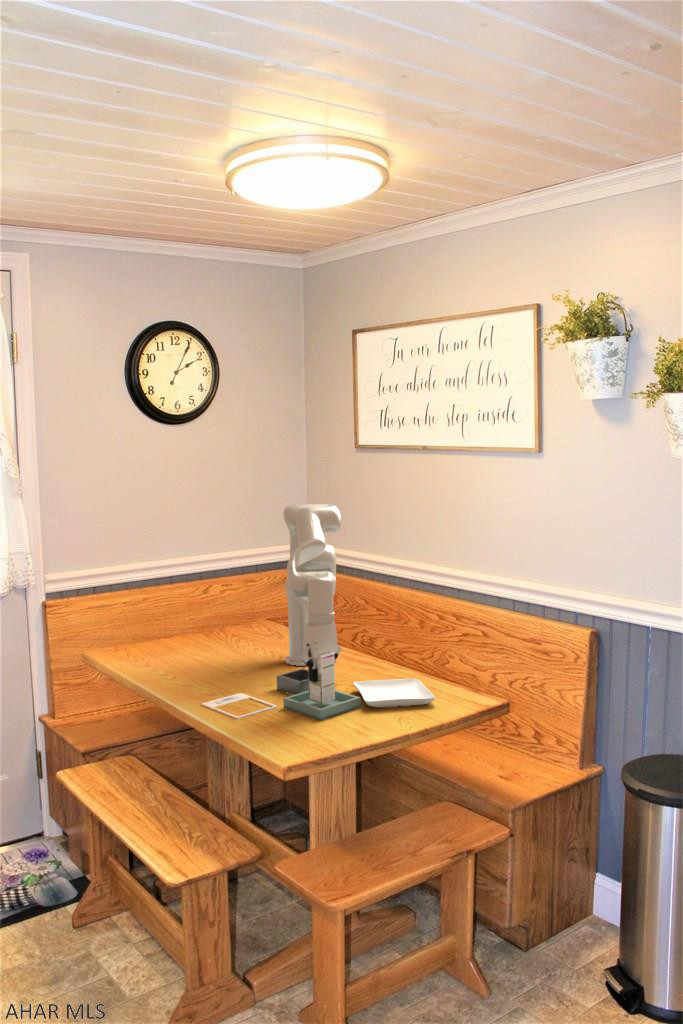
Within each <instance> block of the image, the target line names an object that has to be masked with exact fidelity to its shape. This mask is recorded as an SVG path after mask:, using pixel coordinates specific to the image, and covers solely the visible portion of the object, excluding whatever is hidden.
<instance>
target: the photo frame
mask: <svg viewBox="0 0 683 1024" xmlns="http://www.w3.org/2000/svg"><path fill="white" fill-rule="evenodd" d="M247 698H252V699H254V700H253V701H255V700H257V701H260V702H262V703H261V704H263V703H264V704H263V705H266V704H267V705H266V706H269V705H270V706H269V707H266V708H262V709H259V710H256V711H253V712H249V713H245V714H242V715H238V716H237V715H235V714H232V713H230V712H227V711H224V710H222V709H220V708H215V707H217V706H221V705H225V704H228V703H232V702H236V701H240V700H243V701H245V700H244V699H247ZM252 699H251V700H252ZM247 700H248V699H247ZM257 701H256V702H257ZM240 702H241V701H240ZM260 702H259V703H260ZM236 703H237V702H236ZM201 704H202V705H204V706H203V707H205V706H207V707H210V708H213V709H215V710H217V711H220V712H222V713H225V714H227V715H230V716H232V717H231V718H233V717H234V718H233V719H235V718H236V719H235V720H240V719H239V718H241V719H244V718H247V716H248V717H250V715H251V716H253V714H254V715H257V713H258V714H261V713H263V712H264V711H265V712H268V711H271V710H275V709H278V708H279V706H278V705H275V704H273V703H270V702H267V701H264V700H263V699H259V698H256V697H254V696H250V695H248V694H246V693H243V692H239V693H236V694H233V695H228V696H225V697H221V698H216V699H213V700H209V701H205V702H202V703H201ZM202 705H201V706H202ZM225 706H226V705H225ZM271 706H272V707H271ZM207 707H206V708H207ZM210 708H209V709H210ZM215 710H214V711H215ZM267 710H268V711H267ZM217 711H216V712H217ZM220 712H219V713H220ZM260 712H261V713H260ZM222 713H221V714H222ZM225 714H224V715H225ZM227 715H226V716H227ZM230 716H229V717H230ZM243 717H244V718H243Z"/></svg>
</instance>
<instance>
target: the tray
mask: <svg viewBox="0 0 683 1024" xmlns="http://www.w3.org/2000/svg"><path fill="white" fill-rule="evenodd" d="M361 703H362V701H361V696H356V695H353V694H350V693H346V692H343V691H340V690H336V689H335V700H333V701H330V702H327V703H324V704H321V703H318V702H315V701H311V700H309V691H306V692H303V693H299V694H296V695H293V694H291V695H290V696H286V697H283V709H285V710H287V711H291V712H293V713H297V714H300V715H302V716H306V717H309V718H312V719H315V720H317V721H320V722H321V721H325V720H326V719H330V718H334V717H336V716H340V715H342V714H345V713H349V712H351V711H354V710H357V709H360V708H361V707H362V706H361Z"/></svg>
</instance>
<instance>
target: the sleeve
mask: <svg viewBox="0 0 683 1024" xmlns="http://www.w3.org/2000/svg"><path fill="white" fill-rule="evenodd" d="M277 689H278V691H280V690H281V692H283V691H284V693H287V692H288V694H290V693H291V694H290V695H293V694H294V695H296V694H299V693H303V692H306V691H309V672H308V669H306V668H300V669H296V670H293V671H288V672H285V673H281V674H277V675H276V690H277Z"/></svg>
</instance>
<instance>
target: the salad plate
mask: <svg viewBox="0 0 683 1024" xmlns="http://www.w3.org/2000/svg"><path fill="white" fill-rule="evenodd" d="M352 685H353V686H354V688H355V689H356V690H357V691H358V692H359V694H360V695H361V697H362V699H363V701H364V702H365V703H366V705H368V706H369V707H372V708H379V709H380V708H382V709H383V708H399V707H398V706H401V707H411V705H415V706H423V705H428V704H430V703H432V702H434V700H435V699H436V696H435V695H434V694H433V693H432V692H431V691H430V690H429V689H428V687H426V686H425V685H424V684H423V683H422V681H421V680H420V679H418V678H398V679H397V678H396V679H395V678H394V679H377V680H374V679H373V680H363V681H362V680H361V681H353V682H352Z"/></svg>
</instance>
